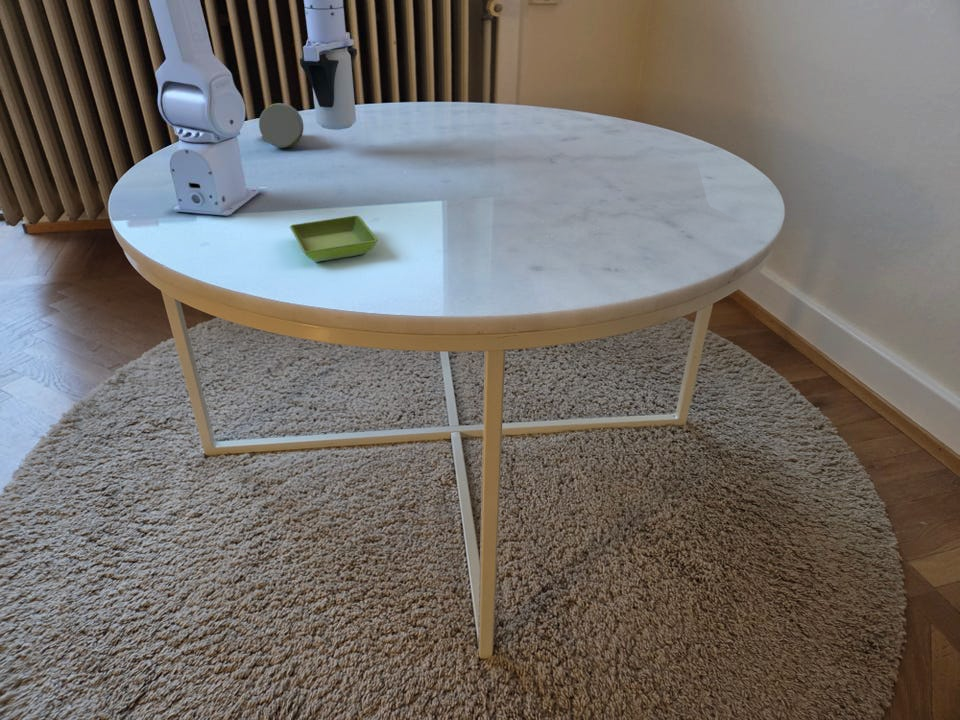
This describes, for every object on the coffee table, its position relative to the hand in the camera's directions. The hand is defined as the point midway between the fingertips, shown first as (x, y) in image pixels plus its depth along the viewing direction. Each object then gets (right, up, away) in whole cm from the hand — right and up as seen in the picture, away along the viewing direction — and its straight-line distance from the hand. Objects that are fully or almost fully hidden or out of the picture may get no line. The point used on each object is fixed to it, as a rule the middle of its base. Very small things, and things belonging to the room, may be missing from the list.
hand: (333, 101), depth 109 cm
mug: (-10, -4, +9) cm, 14 cm away
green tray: (+6, -28, -28) cm, 40 cm away
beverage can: (0, -3, +2) cm, 4 cm away
